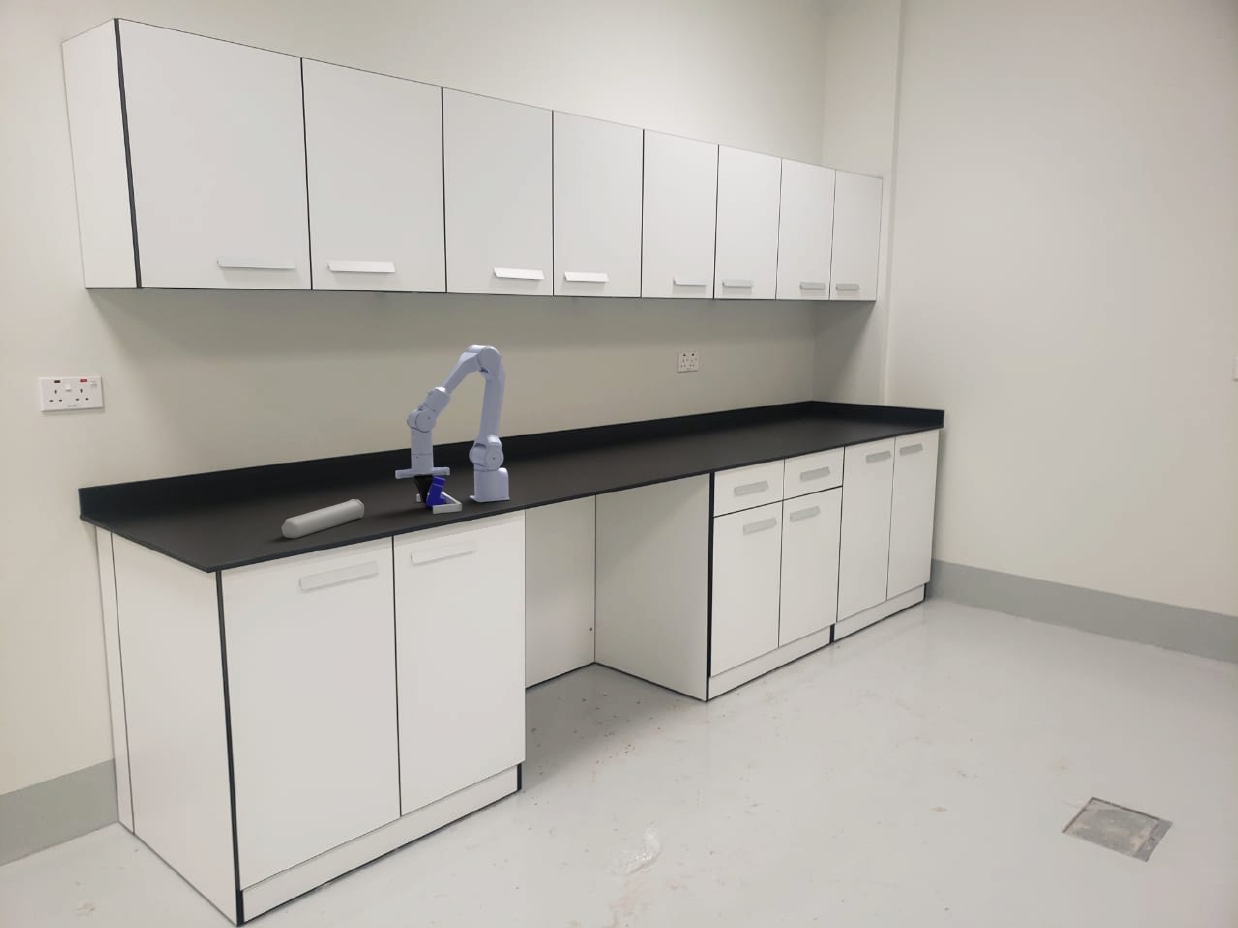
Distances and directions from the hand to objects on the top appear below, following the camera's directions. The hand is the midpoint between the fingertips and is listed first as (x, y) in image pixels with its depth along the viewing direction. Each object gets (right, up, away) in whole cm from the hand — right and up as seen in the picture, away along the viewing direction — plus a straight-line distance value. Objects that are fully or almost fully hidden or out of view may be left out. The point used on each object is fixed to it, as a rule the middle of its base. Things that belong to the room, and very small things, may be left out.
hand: (423, 502), depth 242 cm
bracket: (+3, -1, +2) cm, 4 cm away
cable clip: (+2, 0, +3) cm, 4 cm away
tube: (-20, -6, -23) cm, 31 cm away
